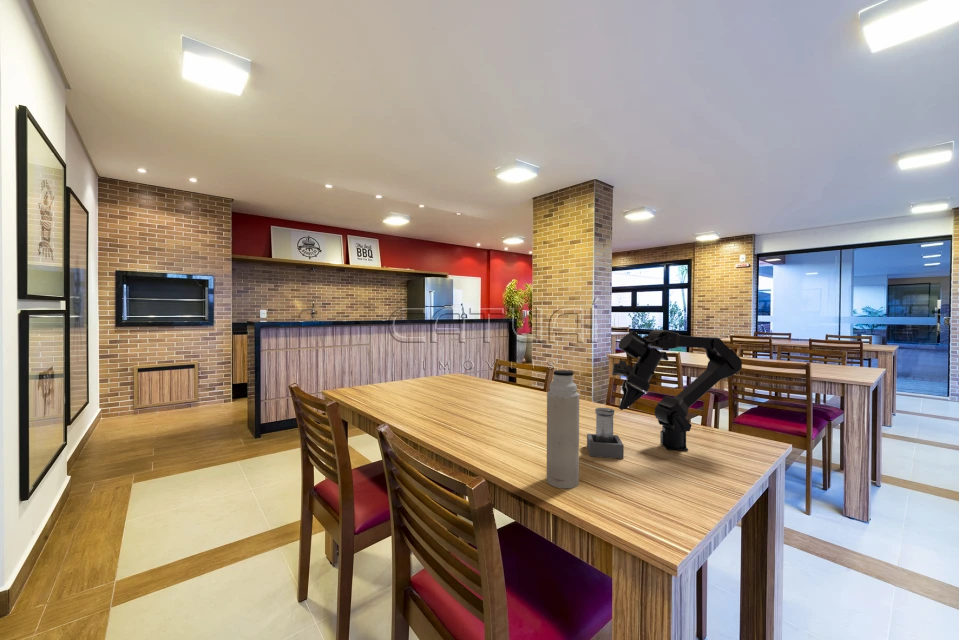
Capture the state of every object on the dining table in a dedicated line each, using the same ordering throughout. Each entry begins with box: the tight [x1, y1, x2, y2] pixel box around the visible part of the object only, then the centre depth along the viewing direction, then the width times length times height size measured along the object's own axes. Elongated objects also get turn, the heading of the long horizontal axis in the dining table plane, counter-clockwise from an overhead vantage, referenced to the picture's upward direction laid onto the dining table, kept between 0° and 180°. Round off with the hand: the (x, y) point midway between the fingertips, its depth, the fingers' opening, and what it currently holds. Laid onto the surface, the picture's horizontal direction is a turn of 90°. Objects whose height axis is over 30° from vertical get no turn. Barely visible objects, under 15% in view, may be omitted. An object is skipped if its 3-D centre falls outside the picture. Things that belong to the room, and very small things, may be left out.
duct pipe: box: [594, 407, 615, 443], centre depth 117 cm, size 6×6×13 cm
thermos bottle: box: [546, 369, 580, 489], centre depth 96 cm, size 8×8×28 cm
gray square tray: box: [586, 433, 625, 460], centre depth 117 cm, size 9×9×4 cm
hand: (621, 409), depth 118 cm, fingers open, 9 cm apart
